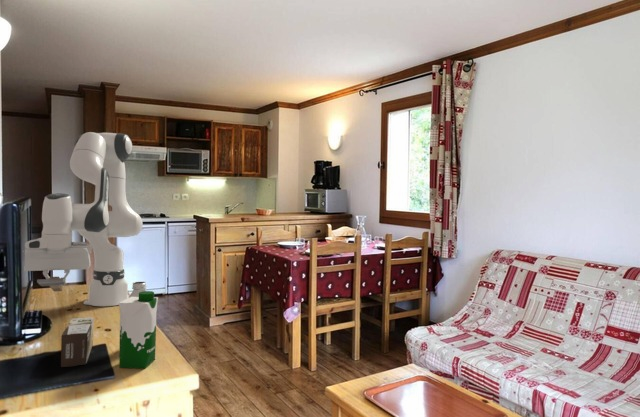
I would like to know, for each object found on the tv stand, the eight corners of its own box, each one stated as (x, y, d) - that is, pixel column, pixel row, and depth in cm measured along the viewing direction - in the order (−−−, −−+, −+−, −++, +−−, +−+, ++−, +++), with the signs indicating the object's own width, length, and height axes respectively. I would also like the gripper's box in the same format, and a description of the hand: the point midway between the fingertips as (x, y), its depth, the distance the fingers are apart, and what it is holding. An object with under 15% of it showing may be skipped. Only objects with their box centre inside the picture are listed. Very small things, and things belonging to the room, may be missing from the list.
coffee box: (70, 318, 136) (60, 333, 121) (94, 316, 138) (87, 331, 123) (70, 348, 136) (60, 367, 121) (93, 346, 138) (86, 365, 123)
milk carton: (146, 370, 121) (148, 296, 121) (113, 369, 121) (115, 295, 121) (159, 358, 130) (161, 289, 129) (128, 357, 130) (129, 288, 130)
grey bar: (46, 291, 153) (47, 283, 154) (69, 290, 156) (70, 282, 157) (36, 282, 139) (37, 272, 139) (62, 281, 141) (63, 271, 142)
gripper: (92, 240, 157) (91, 280, 158) (23, 241, 150) (23, 282, 150) (90, 242, 151) (90, 283, 152) (19, 243, 144) (18, 286, 144)
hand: (56, 283), depth 151 cm, fingers closed on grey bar, 2 cm apart
